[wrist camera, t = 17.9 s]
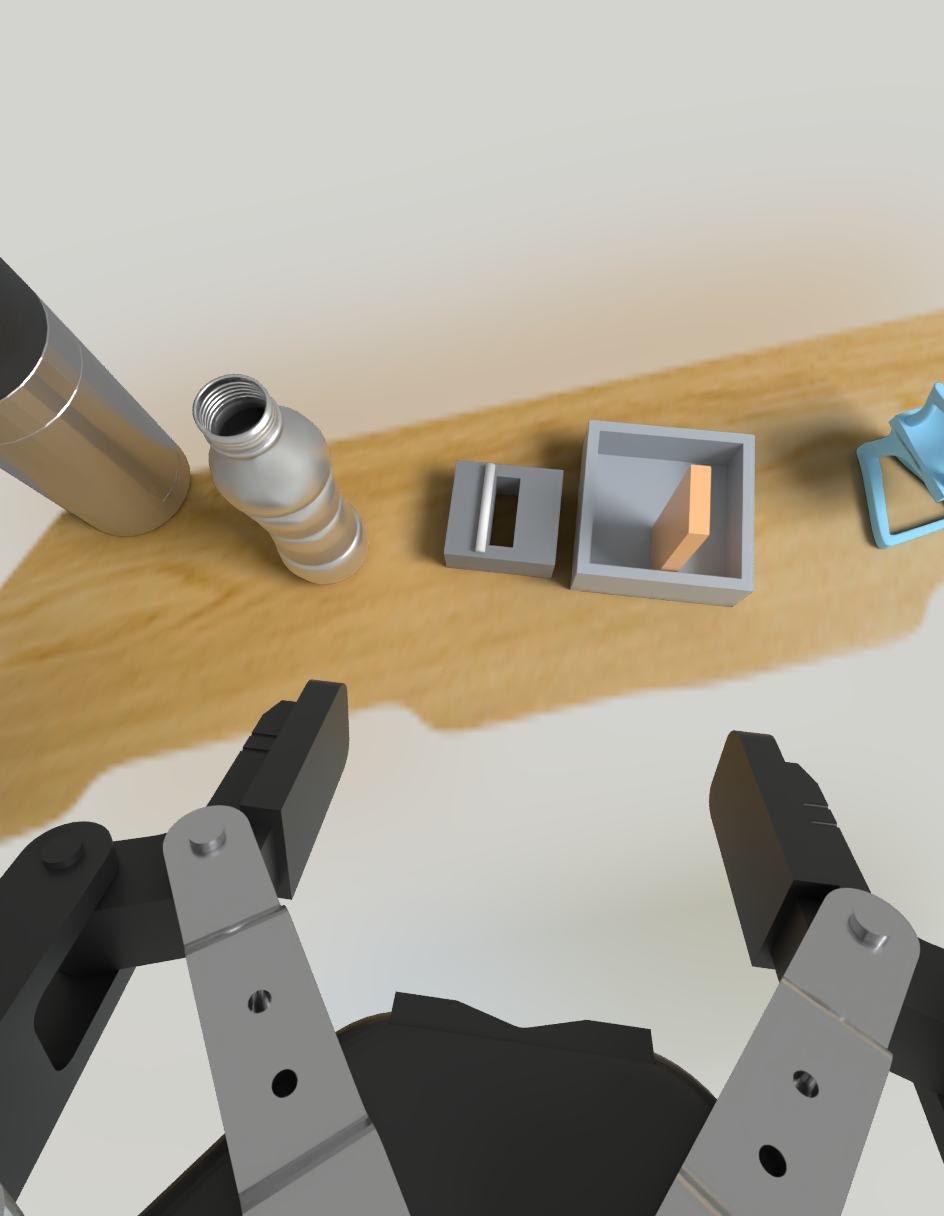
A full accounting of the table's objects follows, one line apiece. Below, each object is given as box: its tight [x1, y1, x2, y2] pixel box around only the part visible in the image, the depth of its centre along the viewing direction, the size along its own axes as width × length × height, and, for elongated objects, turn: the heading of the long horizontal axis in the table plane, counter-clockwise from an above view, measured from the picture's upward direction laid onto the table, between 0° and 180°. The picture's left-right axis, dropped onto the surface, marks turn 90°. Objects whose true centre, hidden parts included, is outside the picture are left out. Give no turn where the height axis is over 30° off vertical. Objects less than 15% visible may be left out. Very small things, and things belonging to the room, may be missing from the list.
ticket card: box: [650, 465, 711, 572], centre depth 43 cm, size 1×4×10 cm, turn 173°
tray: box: [570, 420, 755, 607], centre depth 48 cm, size 12×12×4 cm
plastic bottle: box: [193, 374, 369, 584], centre depth 40 cm, size 6×7×20 cm
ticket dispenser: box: [444, 460, 564, 578], centre depth 48 cm, size 8×8×4 cm
